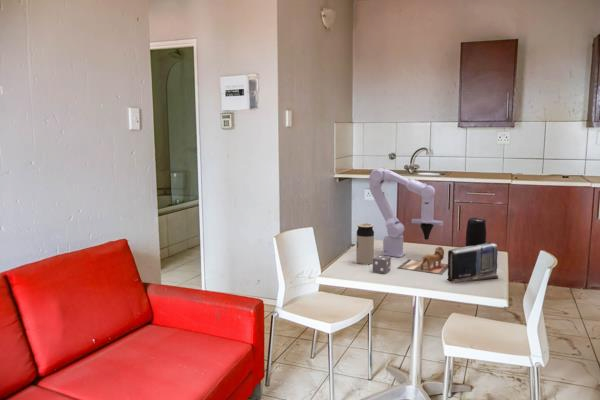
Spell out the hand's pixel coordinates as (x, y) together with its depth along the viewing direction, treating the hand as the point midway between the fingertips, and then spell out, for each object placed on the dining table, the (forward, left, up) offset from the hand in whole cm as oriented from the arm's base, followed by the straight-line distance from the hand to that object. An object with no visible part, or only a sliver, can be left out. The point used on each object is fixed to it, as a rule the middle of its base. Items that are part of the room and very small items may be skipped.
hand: (426, 239), depth 241 cm
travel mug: (-23, -21, -10) cm, 33 cm away
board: (+4, -15, -9) cm, 18 cm away
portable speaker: (+21, +9, -10) cm, 25 cm away
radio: (+26, -24, -10) cm, 37 cm away
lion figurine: (+7, -16, -9) cm, 20 cm away
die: (-11, -31, -9) cm, 34 cm away
